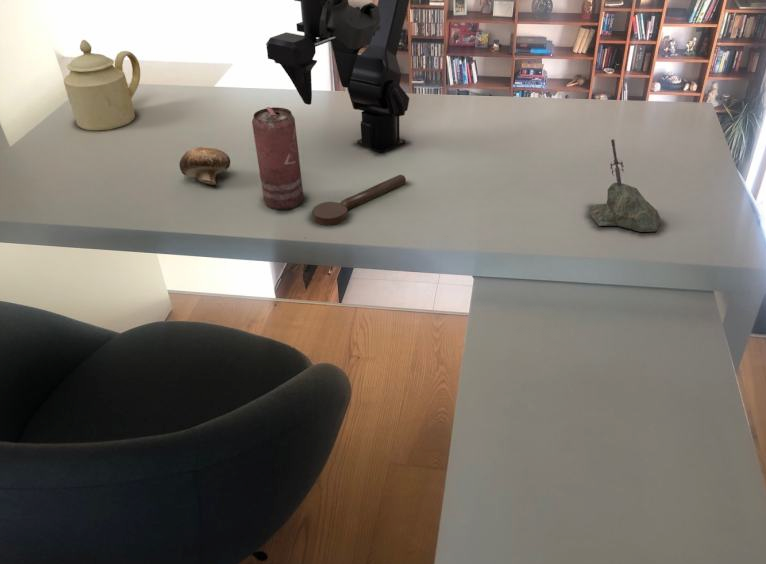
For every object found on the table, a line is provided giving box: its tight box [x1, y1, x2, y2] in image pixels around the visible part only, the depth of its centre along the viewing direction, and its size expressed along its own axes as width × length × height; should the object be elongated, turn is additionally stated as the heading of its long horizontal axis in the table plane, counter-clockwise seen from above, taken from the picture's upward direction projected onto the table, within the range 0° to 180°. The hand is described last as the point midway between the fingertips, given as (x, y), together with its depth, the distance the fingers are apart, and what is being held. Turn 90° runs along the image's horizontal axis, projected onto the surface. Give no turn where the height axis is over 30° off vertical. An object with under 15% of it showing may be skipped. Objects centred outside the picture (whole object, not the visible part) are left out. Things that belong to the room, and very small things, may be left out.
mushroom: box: [178, 146, 231, 186], centre depth 113 cm, size 8×8×6 cm
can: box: [251, 106, 304, 211], centre depth 104 cm, size 6×6×14 cm
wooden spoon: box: [311, 174, 407, 226], centre depth 107 cm, size 18×5×2 cm, turn 135°
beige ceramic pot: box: [63, 39, 141, 131], centre depth 133 cm, size 15×11×15 cm
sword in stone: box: [590, 138, 662, 233], centre depth 99 cm, size 10×8×12 cm
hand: (327, 95), depth 107 cm, fingers open, 9 cm apart
